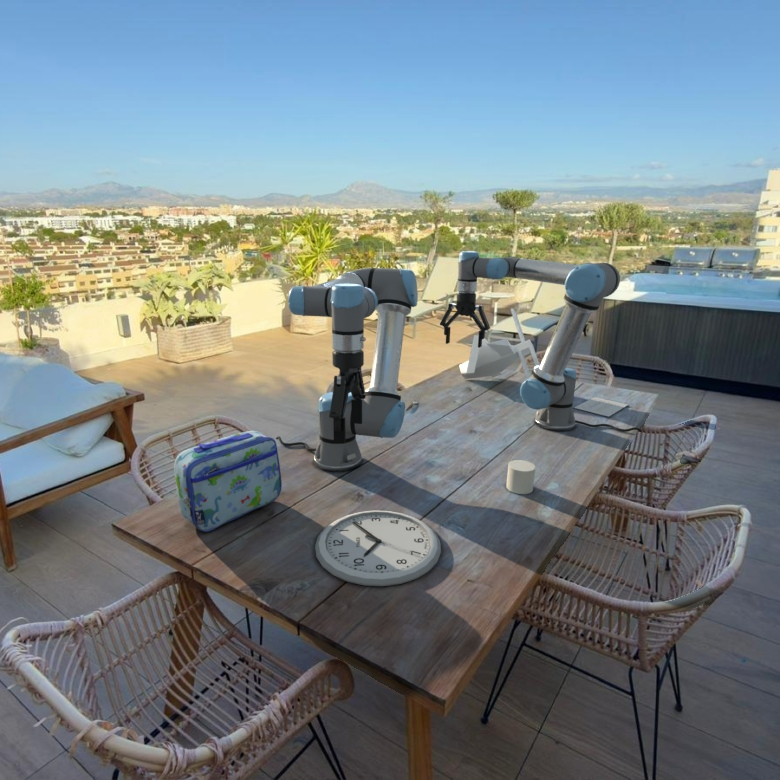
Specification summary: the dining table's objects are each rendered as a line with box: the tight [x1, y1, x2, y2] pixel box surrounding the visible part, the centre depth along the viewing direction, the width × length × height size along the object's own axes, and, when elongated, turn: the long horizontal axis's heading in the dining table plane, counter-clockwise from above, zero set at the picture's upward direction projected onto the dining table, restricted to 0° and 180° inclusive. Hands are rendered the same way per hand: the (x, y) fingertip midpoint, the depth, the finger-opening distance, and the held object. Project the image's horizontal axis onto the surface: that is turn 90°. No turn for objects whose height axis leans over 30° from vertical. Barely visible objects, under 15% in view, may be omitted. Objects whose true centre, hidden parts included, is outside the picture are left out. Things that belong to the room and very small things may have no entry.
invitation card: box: [573, 396, 629, 418], centre depth 226 cm, size 21×1×15 cm
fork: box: [405, 396, 421, 412], centre depth 222 cm, size 3×16×2 cm, turn 160°
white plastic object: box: [458, 307, 540, 380], centre depth 255 cm, size 37×45×31 cm
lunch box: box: [173, 430, 283, 533], centre depth 135 cm, size 26×11×21 cm, turn 134°
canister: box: [505, 459, 536, 495], centre depth 153 cm, size 8×8×7 cm
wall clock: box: [314, 509, 442, 587], centre depth 125 cm, size 30×2×30 cm
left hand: (348, 432), depth 131 cm, fingers open, 13 cm apart
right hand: (463, 345), depth 212 cm, fingers open, 13 cm apart
